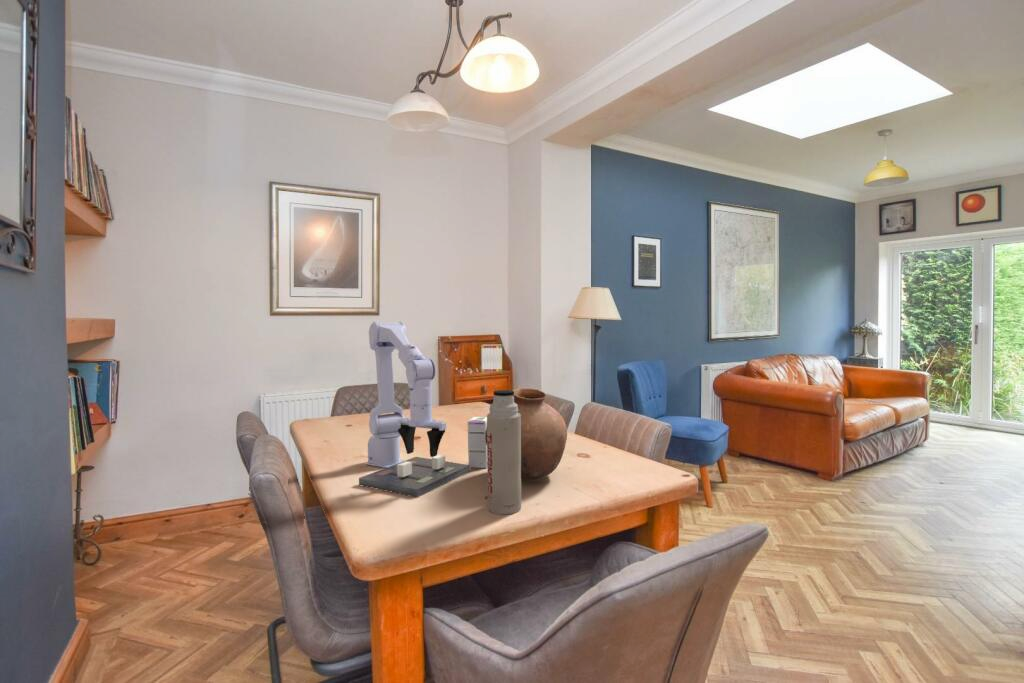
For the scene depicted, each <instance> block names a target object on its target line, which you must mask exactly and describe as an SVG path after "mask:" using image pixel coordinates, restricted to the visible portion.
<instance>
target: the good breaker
mask: <svg viewBox="0 0 1024 683" xmlns="http://www.w3.org/2000/svg"><path fill="white" fill-rule="evenodd" d="M431 459H432V468H433V469H440V468H442V467H444V466H445V461H446V455H444V454H437V455H436V456H434V457H431Z"/></svg>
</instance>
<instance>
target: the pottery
mask: <svg viewBox="0 0 1024 683" xmlns="http://www.w3.org/2000/svg"><path fill="white" fill-rule="evenodd" d="M512 391H514V395H513V396H514V403H516V404H517V405H518V413H519V414H521V481H535V480H536V481H537V480H540V479H543V478H546V477H548V476H549V475H551V474H552V473H553V472H554V471H555V470H556V469H557V468H558V466H559V465H560V463H561V461H562V458H563V455H564V451H565V449H566V444H567V439H568V428H567V424H566V421H565V419H564V418H563V416H562V415H561V414H560V413H559V412H558V411H557V410H556V409H555V408H554V407H552V405H549V404H548V403H546V402H544V400H545V399H546V398H547V394H546V393H545V392H544V391H542V390H539V389H535V388H529V387H528V388H524V387H523V388H522V387H521V388H515V389H512ZM485 440H486V444H487V428H486V433H485Z"/></svg>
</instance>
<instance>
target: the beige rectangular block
mask: <svg viewBox="0 0 1024 683" xmlns="http://www.w3.org/2000/svg"><path fill="white" fill-rule="evenodd" d="M410 474H412V462H403V463H401V464H398V465H397V476H400V477H405V476H407V475H410Z"/></svg>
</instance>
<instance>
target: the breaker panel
mask: <svg viewBox="0 0 1024 683" xmlns="http://www.w3.org/2000/svg"><path fill="white" fill-rule="evenodd" d="M403 462H412V474H410V475H407V476H405V477H400V476H397V465H398V464H401V463H403ZM403 462H400V463H398V464H395V465H392V466H390V467H387V468H381V469H378V470H377V471H373V472H371V473H369V474H368V473H367V474H366V475H364V476H361V477H359V478H358V485H359V486H360V485H363V486H362V487H365V486H368V487H367V488H369V487H373V488H372V489H374V488H378V489H377V490H379V489H382V490H381V491H384V490H387V491H386V492H389V491H392V492H391V493H394V492H396V493H395V494H398V493H401V494H400V495H403V494H404V495H405V496H408V495H410V497H413V496H414V498H419V497H421V496H423V495H425V494H427V493H429V492H431V490H432V491H433V489H434V490H436V489H438V488H439V487H442V486H443V485H446V484H448V483H450V482H452V481H454V480H456V479H458V478H460V477H462V476H464V475H466V473H467V474H469V473H470V471H471V467H470V465H469V464H465V463H464V464H463V463H459V462H453V461H446V460H445V466H444V467H442V468H440V469H433V468H432V458H427V457H421V456H414V457H411V458H409V459H405V461H403ZM468 472H469V473H468ZM441 485H442V486H441ZM435 488H436V489H435Z"/></svg>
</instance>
